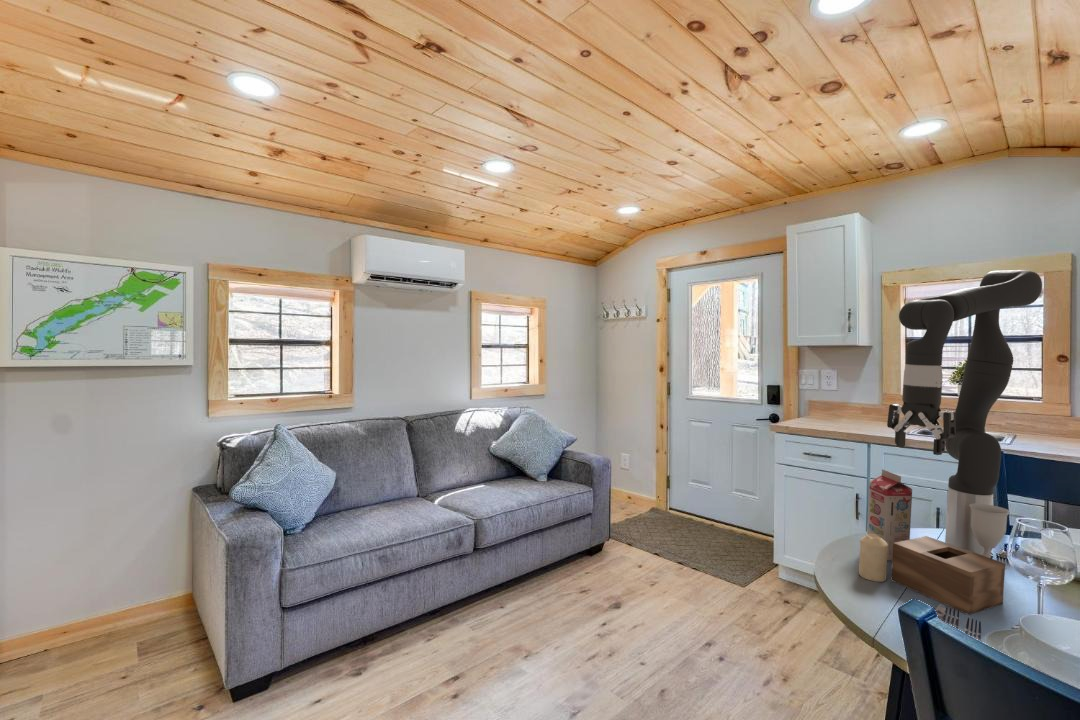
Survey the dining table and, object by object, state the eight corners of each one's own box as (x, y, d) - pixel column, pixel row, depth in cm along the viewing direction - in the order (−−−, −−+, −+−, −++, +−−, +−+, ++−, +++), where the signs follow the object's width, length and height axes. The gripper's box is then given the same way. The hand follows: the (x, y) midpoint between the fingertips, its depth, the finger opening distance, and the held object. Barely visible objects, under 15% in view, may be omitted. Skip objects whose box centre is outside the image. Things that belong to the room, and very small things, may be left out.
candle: (890, 583, 121) (892, 541, 120) (864, 580, 122) (866, 539, 122) (880, 572, 126) (882, 532, 126) (855, 570, 128) (857, 530, 127)
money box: (924, 572, 127) (926, 536, 127) (1002, 604, 112) (1005, 563, 112) (891, 580, 123) (893, 542, 122) (968, 614, 108) (970, 572, 107)
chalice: (996, 580, 123) (1001, 505, 122) (1011, 593, 117) (1017, 515, 116) (959, 575, 126) (963, 502, 125) (972, 587, 119) (977, 511, 118)
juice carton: (890, 549, 140) (894, 469, 139) (908, 560, 133) (912, 476, 132) (866, 549, 140) (870, 469, 139) (883, 560, 133) (887, 476, 132)
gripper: (882, 381, 130) (879, 445, 130) (944, 387, 116) (940, 458, 117) (902, 380, 132) (899, 443, 133) (965, 386, 119) (961, 456, 120)
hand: (918, 450), depth 125 cm, fingers open, 8 cm apart
